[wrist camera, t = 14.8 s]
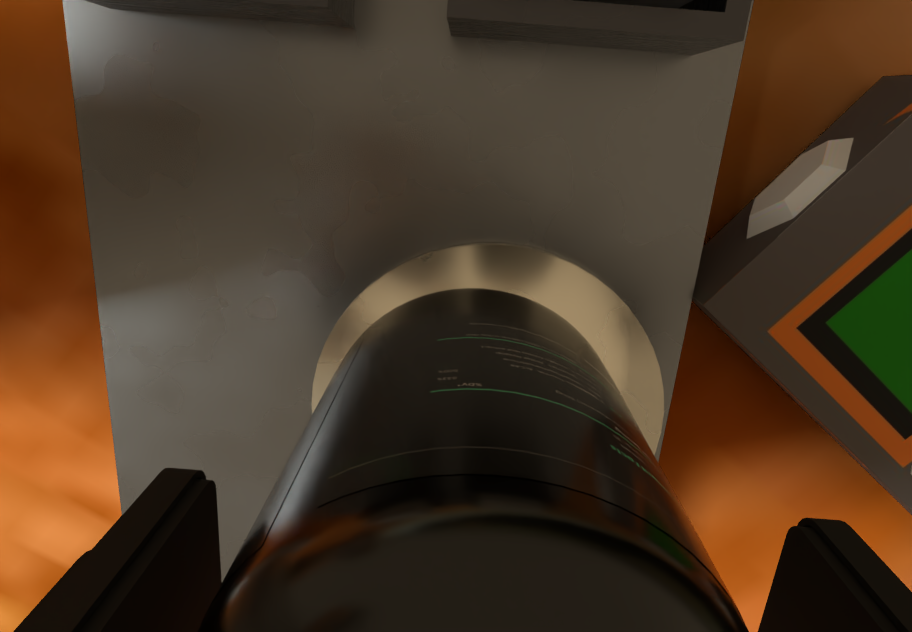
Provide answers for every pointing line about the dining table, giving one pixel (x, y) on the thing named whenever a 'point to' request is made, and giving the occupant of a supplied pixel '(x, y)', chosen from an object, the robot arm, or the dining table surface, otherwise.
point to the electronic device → (832, 282)
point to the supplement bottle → (472, 492)
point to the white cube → (646, 2)
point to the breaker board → (379, 198)
